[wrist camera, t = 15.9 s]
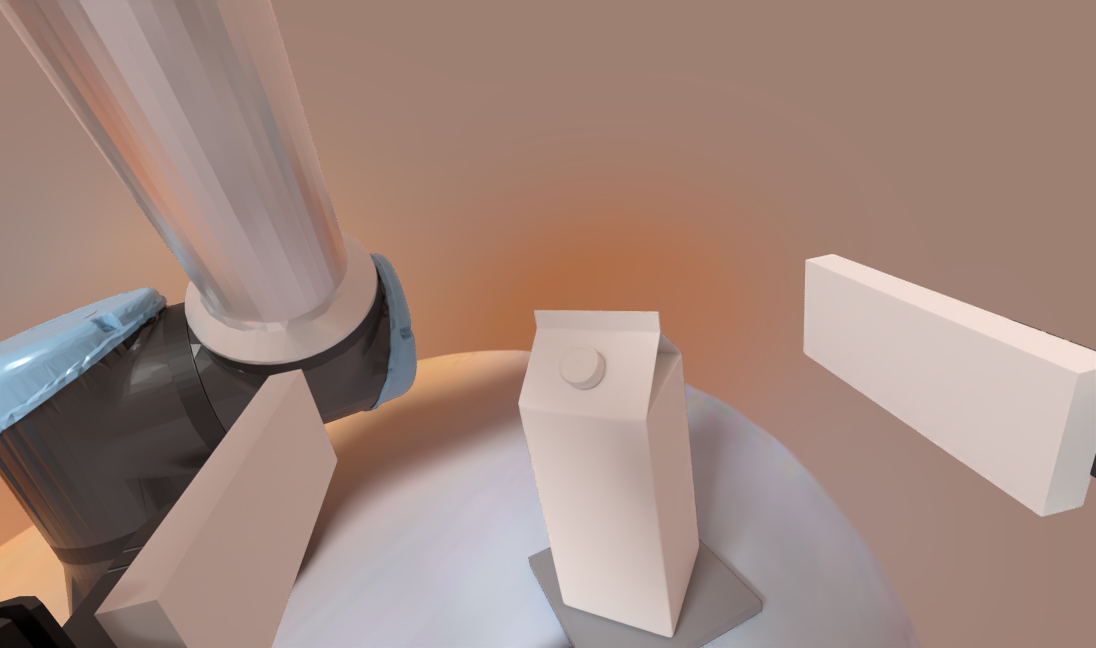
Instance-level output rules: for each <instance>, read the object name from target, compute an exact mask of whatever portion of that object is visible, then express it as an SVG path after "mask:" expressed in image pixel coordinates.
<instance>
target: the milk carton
mask: <svg viewBox="0 0 1096 648" xmlns="http://www.w3.org/2000/svg"><path fill="white" fill-rule="evenodd" d="M534 315H535V319H536V325H537V331H536V335H535V339H534V343H533V347H532V351H531V355H530V359H529V362H528V366H527V370H526V374H525V378H524V382H523V386H522V390H521V394H520V398H519V402H518V405H519V410H520V415H521V419H522V424H523V428H524V433H525V437H526V441H527V446H528V450H529V455H530V459H531V463H532V468H533V472H534V476H535V481H536V485H537V490H538V494H539V498H540V503H541V507H542V511H543V516H544V520H545V525H546V529H547V533H548V538H549V542H550V546H551V551H552V555H553V560H554V564H555V568H556V573H557V577H558V581H559V586H560V590H561V595H562V599H563V602H564V604H565V605H568V606H570V607H573V608H577V609H580V610H583V611H586V612H589V613H592V614H596V615H599V616H602V617H605V618H608V619H611V620H615V621H618V622H621V623H624V624H627V625H630V626H634V627H637V628H640V629H643V630H646V631H649V632H653V633H656V634H659V635H662V636H666V637H670V638H671V637H673V635H674V632H675V628H676V625H677V621H678V618H679V614H680V611H681V608H682V604H683V601H684V597H685V594H686V591H687V587H688V584H689V580H690V577H691V573H692V570H693V567H694V563H695V560H696V556H697V553H698V549H699V538H698V527H697V516H696V505H695V494H694V483H693V472H692V461H691V450H690V439H689V428H688V417H687V406H686V395H685V384H684V373H683V363H682V352H681V351H679V349H678V348H676V346H675V345H674V344H673V343H672V342H671V341H670V340H669V339H668V338H667V337H666V336H665V335H664V334H663V333H662V332H661V328H660V319H659V312H640V311H570V310H567V311H566V310H535V311H534Z"/></svg>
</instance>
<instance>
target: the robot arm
mask: <svg viewBox="0 0 1096 648" xmlns="http://www.w3.org/2000/svg"><path fill="white" fill-rule="evenodd" d="M0 10H1V11H2V12H3V14H4V15H5V17H6V18H7V20H8V21H9V22H10V24H11V25H12V27H13V28H14V29H15V31H16V32H17V34H18V35H19V36H20V38H21V39H22V41H23V42H24V44H25V45H26V47H27V48H28V49H29V51H30V52H31V54H32V55H33V56H34V58H35V59H36V61H37V62H38V64H39V65H40V67H41V68H42V69H43V71H44V72H45V73H46V75H47V76H48V78H49V79H50V81H51V82H52V84H53V85H54V86H55V88H56V89H57V91H58V92H59V93H60V95H61V96H62V98H63V99H64V100H65V102H66V103H67V105H68V106H69V108H70V109H71V110H72V112H73V113H74V115H75V116H76V118H77V119H78V120H79V122H80V123H81V125H82V126H83V127H84V129H85V130H86V132H87V133H88V135H89V136H90V137H91V139H92V140H93V141H94V143H95V145H96V146H97V147H98V149H99V150H100V152H101V153H102V154H103V156H104V157H105V159H106V160H107V162H108V163H109V164H110V166H111V167H112V169H113V170H114V172H115V173H116V174H117V176H118V177H119V179H120V180H121V181H122V183H123V184H124V186H125V187H126V189H127V190H128V191H129V193H130V194H131V196H132V197H133V199H134V200H135V201H136V203H137V204H138V206H139V207H140V208H141V210H142V211H143V213H144V214H145V216H146V217H147V218H148V220H149V221H150V223H151V224H152V226H153V227H154V228H155V230H156V231H157V232H158V234H159V235H160V237H161V238H162V239H163V241H164V243H165V244H166V245H167V247H168V248H169V250H170V251H171V252H172V254H173V255H174V256H175V258H176V260H177V261H178V262H179V264H180V265H181V267H182V268H183V270H184V271H185V272H186V274H187V275H188V277H189V278H190V279H191V280H190V283H189V285H188V287H187V291H186V296H185V302H184V303H180V304H176V305H171V306H168V305H166V303H167V300H166V298H165V297H164V296H162V295H160V294H159V292H158V291H157V290H155V289H153V288H141V289H139V290H136V291H131V292H126V293H122V294H119V295H116V296H113V297H110V298H107V299H104V300H101V301H98V302H95V303H93V304H90V305H87V306H85V307H82V308H79V309H77V310H74V311H72V312H69V313H67V314H64V315H62V316H59V317H57V318H54V319H52V320H49V321H47V322H45V323H42V324H40V325H38V326H35V327H33V328H31V329H28V330H26V331H24V332H22V333H20V334H18V335H15V336H13V337H11V338H9V339H7V340H5V341H3V342H1V343H0V476H1V478H2V479H3V481H4V482H5V484H6V485H7V486H8V488H9V489H10V491H11V492H12V494H13V495H14V496H15V498H16V499H17V501H18V502H19V503H20V505H21V506H22V508H23V509H24V510H25V512H26V513H27V514H28V516H29V517H30V519H31V520H32V522H33V523H34V525H35V526H36V527H37V529H38V530H39V532H40V533H41V534H42V536H43V537H44V539H45V540H46V541H47V543H48V544H49V545H50V547H51V548H52V550H53V551H54V553H55V554H56V555H57V557H58V559H59V560H60V562H61V563H62V565H63V567H64V573H65V581H66V589H67V597H68V606H69V614H70V618H69V619H68V621H67V622H66V623H65V624H64V626H63V627H61V626H60V625H59V624H58V622H57V621H56V620H55V618H54V617H53V616H52V614H51V613H50V612H49V611H48V609H47V608H46V607H45V605H44V604H43V603H42V602H41V601H40V600H39V599H38V598H37V597H36V596H19V597H16V598H12V599H9V600H6V601H2V602H0V648H271V646H272V644H273V641H274V638H275V635H276V632H277V630H278V627H279V624H280V621H281V618H282V616H283V613H284V610H285V607H286V604H287V602H288V599H289V596H290V593H291V590H292V587H293V585H294V582H295V579H296V576H297V573H298V571H299V568H300V565H301V562H302V559H303V557H304V554H305V551H306V548H307V545H308V543H309V540H310V537H311V534H312V531H313V528H314V526H315V523H316V520H317V517H318V514H319V512H320V509H321V506H322V503H323V500H324V498H325V495H326V492H327V489H328V486H329V484H330V481H331V478H332V475H333V472H334V469H335V467H336V464H337V461H338V460H337V457H336V455H335V452H334V450H333V447H332V445H331V442H330V439H329V437H328V434H327V432H326V429H325V427H324V424H326V423H329V422H332V421H335V420H338V419H341V418H343V417H346V416H349V415H352V414H355V413H358V412H360V411H371V410H374V409H376V408H378V406H379V405H381V404H382V403H385V402H387V401H389V400H392V399H394V398H397V397H399V396H401V395H403V394H404V393H406V392H407V391H408V390H409V389H410V388H411V386H412V384H413V382H414V380H415V376H416V369H417V359H416V346H415V339H414V335H413V333H412V331H411V319H410V313H409V309H408V306H407V302H406V299H405V295H404V292H403V289H402V286H401V284H400V281H399V279H398V276H397V274H396V272H395V270H394V268H393V266H392V264H391V263H390V261H389V260H388V259H387V258H386V257H384V256H383V255H381V254H369V253H368V251H367V250H366V249H365V248H364V246H363V245H362V244H361V243H360V242H359V241H358V240H356V239H355V238H354V237H352V236H351V235H349V234H347V233H345V232H344V231H341V230H340V229H339V226H338V222H337V219H336V216H335V212H334V209H333V206H332V202H331V199H330V196H329V193H328V189H327V186H326V183H325V179H324V176H323V173H322V169H321V167H320V163H319V160H318V157H317V153H316V150H315V147H314V143H313V140H312V137H311V133H310V130H309V127H308V123H307V120H306V117H305V114H304V110H303V107H302V103H301V100H300V97H299V94H298V90H297V87H296V84H295V80H294V77H293V74H292V71H291V67H290V64H289V60H288V57H287V54H286V51H285V47H284V44H283V41H282V37H281V34H280V31H279V27H278V24H277V21H276V18H275V14H274V11H273V8H272V4H271V1H270V0H0ZM804 313H805V314H804V353H805V354H806V355H808V356H809V357H810V358H812V359H813V360H815V361H816V362H818V363H819V364H821V365H822V366H823V367H825V368H826V369H828V370H829V371H831V372H832V373H834V374H835V375H837V376H838V377H839V378H841V379H842V380H844V381H845V382H847V383H848V384H850V385H851V386H852V387H854V388H855V389H857V390H858V391H860V392H861V393H863V394H864V395H866V396H867V397H868V398H870V399H871V400H873V401H874V402H876V403H877V404H879V405H880V406H882V407H883V408H884V409H886V410H887V411H889V412H890V413H892V414H893V415H895V416H896V417H897V418H899V419H900V420H902V421H903V422H905V423H906V424H908V425H909V426H910V427H912V428H914V429H915V430H916V431H918V432H919V433H921V434H922V435H924V436H925V437H927V438H928V439H929V440H931V441H932V442H934V443H935V444H937V445H938V446H940V447H941V448H942V449H944V450H945V451H947V452H948V453H950V454H951V455H953V456H954V457H955V458H957V459H958V460H960V461H961V462H963V463H964V464H966V465H967V466H969V467H970V468H972V469H973V470H974V471H976V472H977V473H979V474H980V475H982V476H983V477H984V478H986V479H987V480H989V481H990V482H992V483H993V484H995V485H996V486H997V487H999V488H1000V489H1002V490H1003V491H1005V492H1006V493H1008V494H1009V495H1011V496H1012V497H1014V498H1015V499H1016V500H1018V501H1019V502H1021V503H1022V504H1024V505H1025V506H1026V507H1028V508H1029V509H1031V510H1033V511H1034V512H1035V513H1037V514H1038V515H1040V516H1041V517H1043V516H1047V515H1050V514H1055V513H1058V512H1062V511H1066V510H1069V509H1073V508H1077V507H1081V506H1083V503H1084V499H1085V496H1086V493H1087V489H1088V486H1089V482H1090V479H1091V476H1094V477H1095V478H1096V350H1094V349H1091V348H1088V347H1085V346H1082V345H1080V344H1077V343H1074V342H1072V341H1066V340H1064V338H1061V337H1058V336H1055V335H1053V334H1050V333H1047V332H1046V333H1045V332H1042V331H1041V330H1039V329H1036V328H1034V327H1031V326H1028V325H1026V324H1023V323H1020V322H1017V321H1015V320H1011V319H1007V318H1004V317H1002V316H999V315H996V314H994V313H991V312H988V311H985V310H983V309H980V308H977V307H975V306H972V305H969V304H967V303H964V302H961V301H958V300H955V299H953V298H950V297H948V296H945V295H942V294H940V293H937V292H934V291H931V290H928V289H926V288H923V287H921V286H918V285H915V284H913V283H910V282H907V281H904V280H902V279H899V278H896V277H894V276H891V275H888V274H886V273H883V272H880V271H877V270H875V269H872V268H869V267H867V266H864V265H861V264H858V263H856V262H853V261H850V260H848V259H845V258H842V257H840V256H837V255H834V254H831V255H826V256H821V257H817V258H812V259H808V260H806V272H805V312H804Z"/></svg>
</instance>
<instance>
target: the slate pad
mask: <svg viewBox="0 0 1096 648" xmlns="http://www.w3.org/2000/svg"><path fill="white" fill-rule="evenodd" d="M528 559H529V563H530V566H531V568H532V570H533V572H534V574H535V576H536V578H537V580H538V582H539V584H540V586H541V587H542V589H543V591H544V593H545V595H546V597H547V599H548V601H549V603H550V605H551V607H552V609H553V610H554V612H555V614H556V616H557V618H558V620H559V622H560V624H561V626H562V628H563V630H564V631H565V633H566V635H567V637H568V639H569V641H570V643H571V645H572V647H573V648H700V647H701V646H703V645H705V644H707V643H708V642H710V641H712V640H713V639H715V638H717V637H718V636H720V635H722V634H723V633H725V632H727V631H728V630H730V629H732V628H734V627H735V626H737V625H739V624H740V623H742V622H744V621H745V620H747V619H749V618H750V617H752V616H754V615H755V614H757V613H759V612H761V611H762V607H761V601H760V600H759V599H758V598H757V597H756V596H755V595H754V594H753V593H752V592H751V591H750V590H749V589H748V588H747V587H746V586H745V585H744V584H743V583H742V582H741V581H740V580H739V579H738V578H737V577H736V576H735V575H734V574H733V573H732V572H731V571H730V570H729V569H728V568H727V567H726V566H725V565H724V564H723V563H722V562H721V561H720V560H719V559H718V558H717V557H716V556H715V555H714V554H713V553H712V552H711V551H710V550H709V549H708V548H707V547H706V546H705V545H704V544H703V543H702V542H701V541H700V540H699V549H698V553H697V556H696V560H695V563H694V567H693V570H692V573H691V577H690V580H689V584H688V587H687V591H686V594H685V597H684V601H683V604H682V608H681V611H680V614H679V618H678V621H677V625H676V628H675V632H674V635H673V637H671V638H670V637H666V636H662V635H659V634H656V633H653V632H649V631H646V630H643V629H640V628H637V627H634V626H630V625H627V624H624V623H621V622H618V621H615V620H611V619H608V618H605V617H602V616H599V615H596V614H592V613H589V612H586V611H583V610H580V609H577V608H573V607H570V606H568V605H565V604H564V602H563V599H562V595H561V590H560V586H559V581H558V577H557V573H556V568H555V564H554V560H553V555H552V551H551V547H550V548H547V549H545V550H543V551H541V552H539V553H537V554H535V555H533V556H530V557H528Z"/></svg>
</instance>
